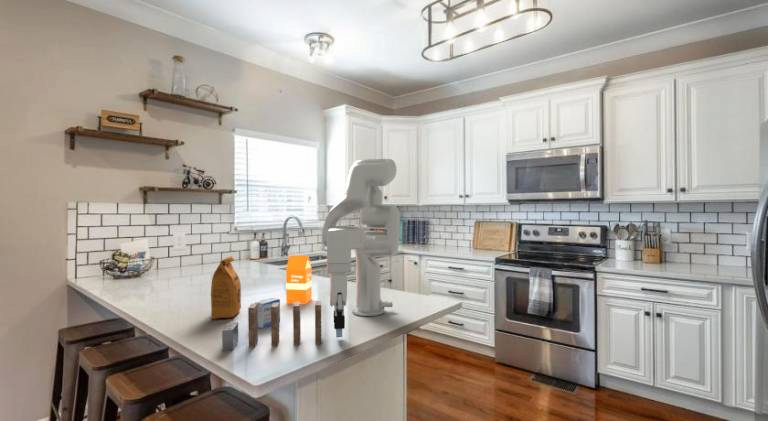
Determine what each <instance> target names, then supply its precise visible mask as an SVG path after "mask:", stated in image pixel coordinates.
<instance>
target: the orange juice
mask: <svg viewBox="0 0 768 421" xmlns="http://www.w3.org/2000/svg"><path fill="white" fill-rule="evenodd" d="M285 272H286V273H285V280H286V281H285V282H286V283H285V288H286V290H285V291H286V294H285V295H286V297H285V298H286V299H285V300H286V301H285V302H286V304H294V302H300V305H303V304H308V303H309V302H310V301H312V298H313V297H312V296H313V295H312V294H313V292H312V291H313V290H312V289H313V288H312V285H313V284H312V283H313V282H312V264H311V260H310V257H309V255H294V254H293V255H292V254H290V255H288V260H287V265H286V269H285Z"/></svg>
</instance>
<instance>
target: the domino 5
mask: <svg viewBox="0 0 768 421" xmlns="http://www.w3.org/2000/svg"><path fill="white" fill-rule="evenodd" d="M337 298H338V295H337ZM336 306H338V304H336ZM337 309H338V308H337ZM335 336H336V338H343V329H335Z"/></svg>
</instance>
